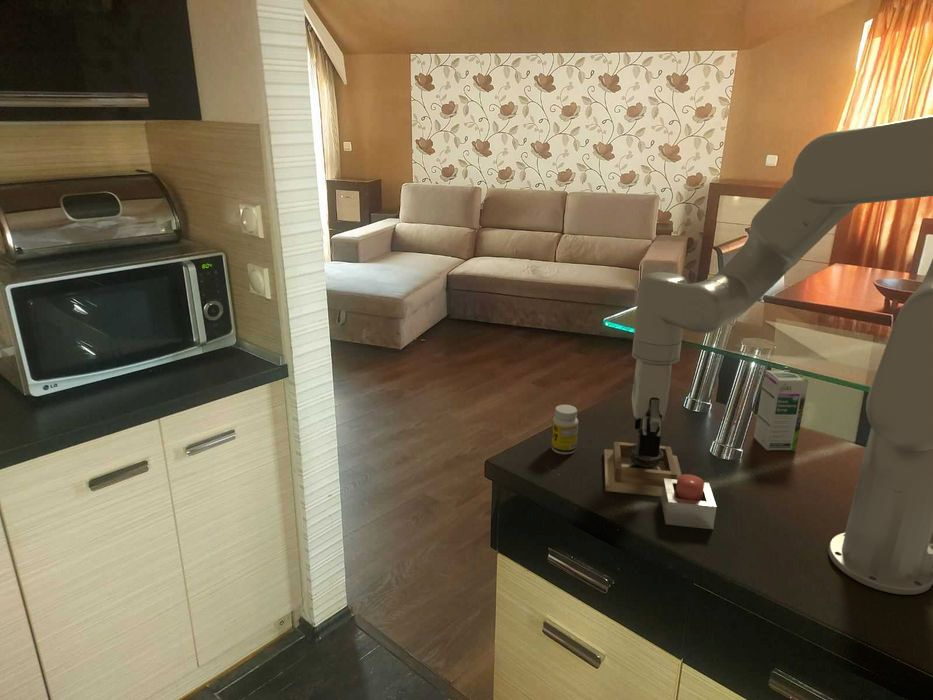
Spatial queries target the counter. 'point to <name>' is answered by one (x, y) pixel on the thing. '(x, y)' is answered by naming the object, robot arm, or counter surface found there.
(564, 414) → the supplement bottle
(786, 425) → the syrup box
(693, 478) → the button
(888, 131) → the robot arm
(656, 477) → the open wooden tray
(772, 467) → the counter surface
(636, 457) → the dark stone statuette
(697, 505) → the button box
